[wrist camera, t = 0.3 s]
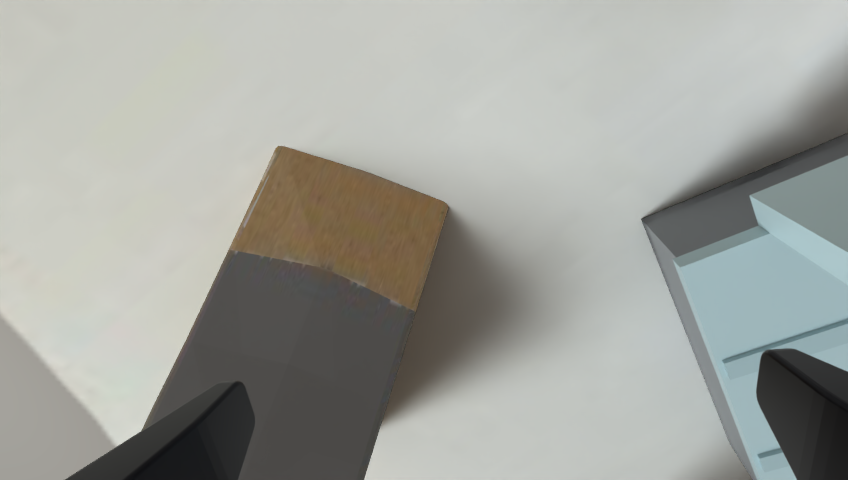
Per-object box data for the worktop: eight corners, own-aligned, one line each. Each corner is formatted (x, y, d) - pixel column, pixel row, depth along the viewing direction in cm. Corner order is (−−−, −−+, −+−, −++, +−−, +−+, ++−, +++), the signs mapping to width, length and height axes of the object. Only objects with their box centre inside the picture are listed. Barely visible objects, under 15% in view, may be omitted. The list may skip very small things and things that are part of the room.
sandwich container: (457, 200, 22) (432, 482, 8) (367, 438, 28) (266, 830, 14) (274, 137, 21) (-77, 320, 8) (224, 392, 28) (-24, 749, 14)
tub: (926, 388, 23) (1011, 454, 19) (729, 443, 25) (773, 512, 22) (870, 123, 19) (967, 145, 15) (641, 219, 21) (676, 257, 18)
